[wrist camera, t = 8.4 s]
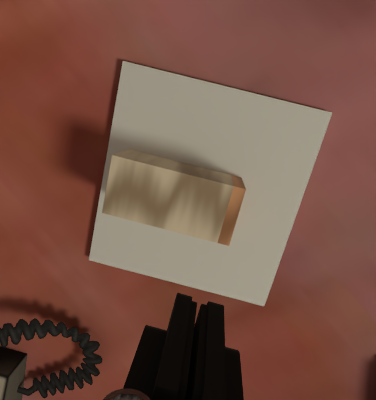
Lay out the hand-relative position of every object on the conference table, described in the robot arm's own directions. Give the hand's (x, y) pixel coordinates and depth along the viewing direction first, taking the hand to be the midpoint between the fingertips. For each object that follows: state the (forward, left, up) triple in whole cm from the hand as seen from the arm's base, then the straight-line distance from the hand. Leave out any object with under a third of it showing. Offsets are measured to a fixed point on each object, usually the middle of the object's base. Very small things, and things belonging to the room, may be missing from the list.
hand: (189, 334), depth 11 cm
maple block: (0, +3, -18) cm, 18 cm away
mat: (0, -1, -21) cm, 21 cm away
